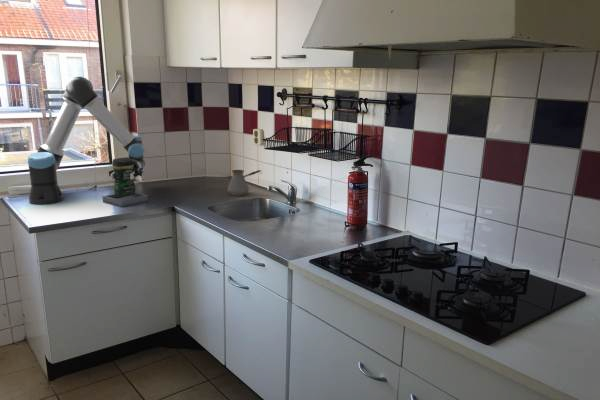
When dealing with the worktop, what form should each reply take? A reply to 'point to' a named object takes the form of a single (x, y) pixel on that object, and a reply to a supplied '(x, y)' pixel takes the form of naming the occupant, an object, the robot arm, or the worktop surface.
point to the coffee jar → (123, 176)
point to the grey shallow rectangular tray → (125, 199)
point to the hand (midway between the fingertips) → (121, 176)
